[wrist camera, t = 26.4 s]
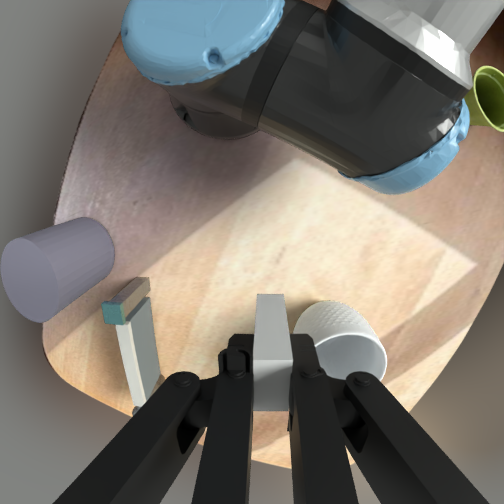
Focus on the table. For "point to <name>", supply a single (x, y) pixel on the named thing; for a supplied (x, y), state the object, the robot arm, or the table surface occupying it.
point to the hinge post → (157, 385)
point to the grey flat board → (139, 351)
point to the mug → (342, 340)
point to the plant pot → (486, 98)
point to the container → (55, 266)
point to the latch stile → (125, 301)
